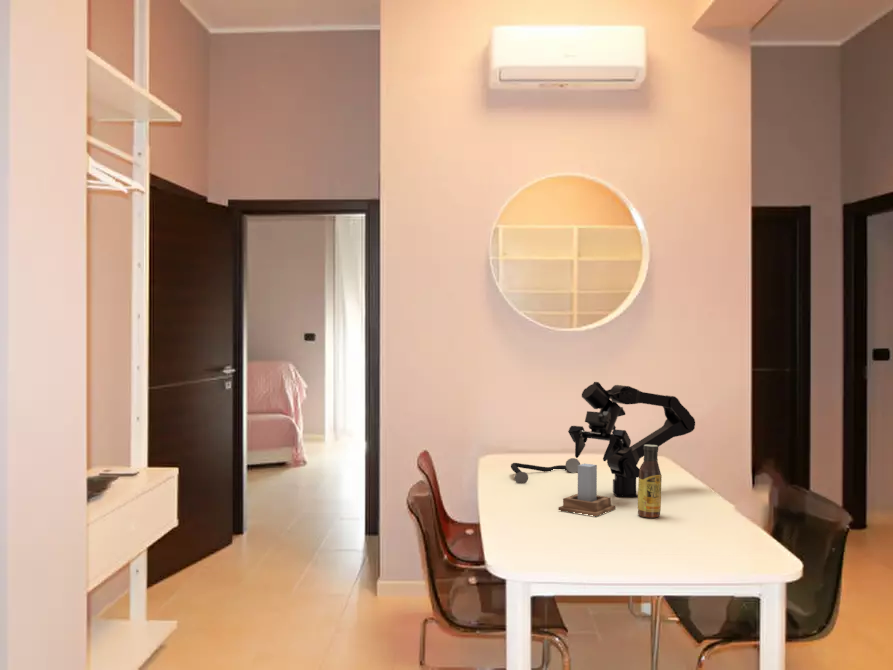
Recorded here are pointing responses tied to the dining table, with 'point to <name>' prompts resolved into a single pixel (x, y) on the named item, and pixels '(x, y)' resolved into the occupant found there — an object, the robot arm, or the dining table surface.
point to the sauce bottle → (649, 484)
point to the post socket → (587, 505)
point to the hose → (542, 469)
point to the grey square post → (587, 482)
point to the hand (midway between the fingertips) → (589, 458)
